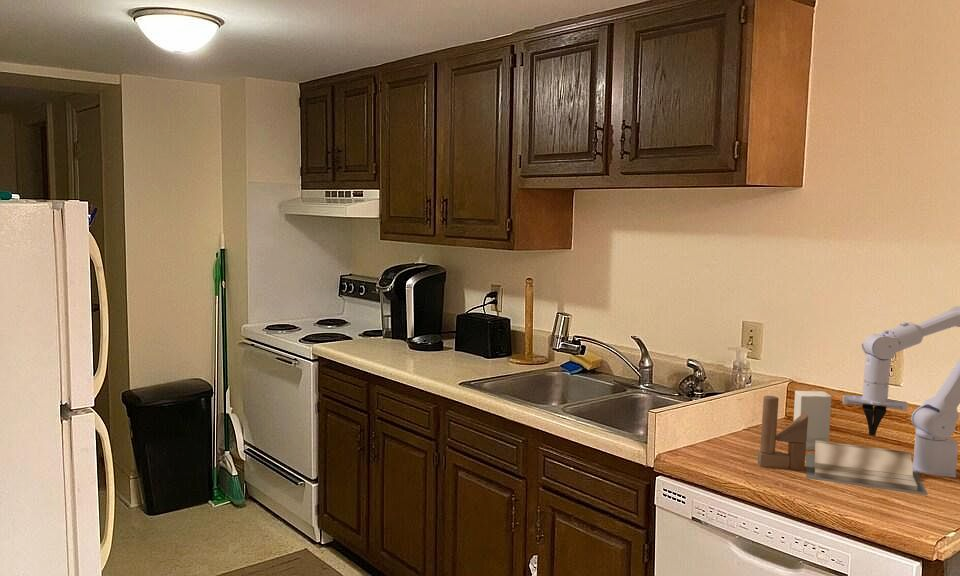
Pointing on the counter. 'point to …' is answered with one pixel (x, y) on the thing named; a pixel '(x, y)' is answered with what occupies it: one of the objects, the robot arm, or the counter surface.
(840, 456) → the loose plank
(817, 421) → the skincare box
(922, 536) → the counter surface
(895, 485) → the laid plank
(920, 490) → the underlay mat
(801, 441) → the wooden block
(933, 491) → the counter surface
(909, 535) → the counter surface
